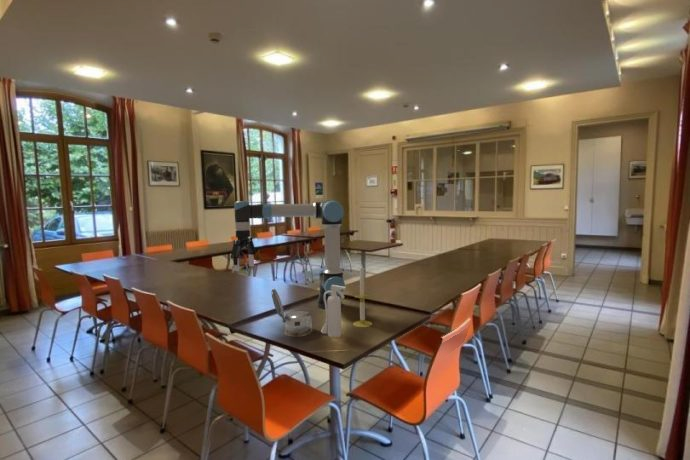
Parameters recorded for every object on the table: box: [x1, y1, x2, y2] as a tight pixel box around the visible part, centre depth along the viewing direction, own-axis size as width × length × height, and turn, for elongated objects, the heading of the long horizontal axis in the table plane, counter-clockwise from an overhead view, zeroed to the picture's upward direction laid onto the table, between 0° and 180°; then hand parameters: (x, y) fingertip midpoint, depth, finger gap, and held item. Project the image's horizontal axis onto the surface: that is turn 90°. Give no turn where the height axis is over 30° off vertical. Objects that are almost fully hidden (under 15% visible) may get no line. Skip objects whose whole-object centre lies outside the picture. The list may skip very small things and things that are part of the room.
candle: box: [352, 263, 373, 328], centre depth 187 cm, size 10×10×32 cm
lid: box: [271, 288, 285, 320], centre depth 177 cm, size 15×14×2 cm
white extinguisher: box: [320, 285, 347, 338], centre depth 172 cm, size 7×12×25 cm, turn 73°
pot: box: [282, 310, 313, 337], centre depth 179 cm, size 14×18×8 cm
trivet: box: [284, 328, 314, 337], centre depth 179 cm, size 14×14×1 cm
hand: (244, 268), depth 197 cm, fingers open, 13 cm apart
